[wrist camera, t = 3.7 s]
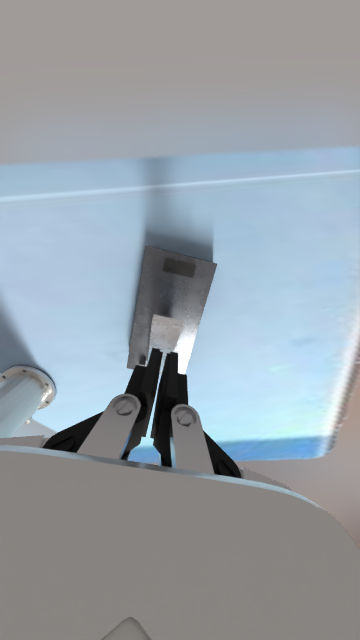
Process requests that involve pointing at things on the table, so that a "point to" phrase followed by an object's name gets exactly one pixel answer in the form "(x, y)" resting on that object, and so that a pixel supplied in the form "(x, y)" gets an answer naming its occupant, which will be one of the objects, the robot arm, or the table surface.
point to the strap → (164, 335)
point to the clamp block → (170, 301)
